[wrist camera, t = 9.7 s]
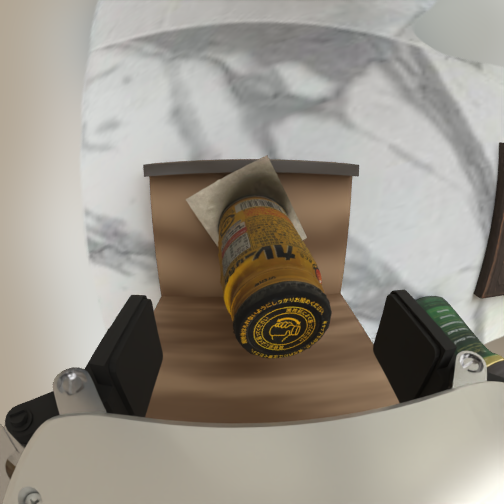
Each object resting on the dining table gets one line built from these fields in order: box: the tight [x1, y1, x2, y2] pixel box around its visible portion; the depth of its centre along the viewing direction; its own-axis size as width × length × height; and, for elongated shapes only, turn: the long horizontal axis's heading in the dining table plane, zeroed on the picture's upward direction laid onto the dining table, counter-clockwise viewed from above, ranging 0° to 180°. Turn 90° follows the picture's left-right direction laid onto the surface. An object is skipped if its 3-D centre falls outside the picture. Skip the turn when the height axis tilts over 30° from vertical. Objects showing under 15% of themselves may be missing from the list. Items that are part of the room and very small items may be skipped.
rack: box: [143, 159, 399, 423], centre depth 19 cm, size 14×18×18 cm
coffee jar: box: [416, 296, 504, 378], centre depth 24 cm, size 10×8×19 cm
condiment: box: [186, 156, 332, 358], centre depth 18 cm, size 7×8×12 cm
